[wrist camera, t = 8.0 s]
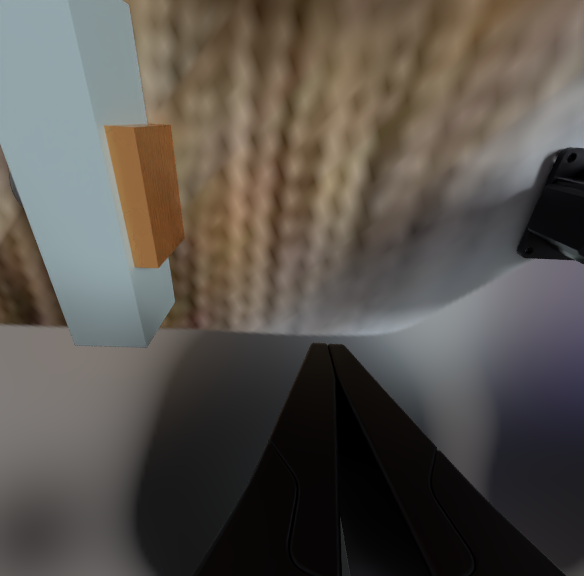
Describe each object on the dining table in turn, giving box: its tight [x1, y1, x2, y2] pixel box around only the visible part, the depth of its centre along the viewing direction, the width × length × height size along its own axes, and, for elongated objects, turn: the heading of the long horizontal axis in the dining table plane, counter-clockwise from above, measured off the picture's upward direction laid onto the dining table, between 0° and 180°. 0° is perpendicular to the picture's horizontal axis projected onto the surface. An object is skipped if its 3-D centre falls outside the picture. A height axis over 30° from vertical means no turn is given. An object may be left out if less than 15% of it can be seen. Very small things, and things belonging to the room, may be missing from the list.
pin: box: [9, 124, 185, 268], centre depth 16 cm, size 7×6×4 cm
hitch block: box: [0, 0, 175, 348], centre depth 16 cm, size 4×16×5 cm, turn 177°
